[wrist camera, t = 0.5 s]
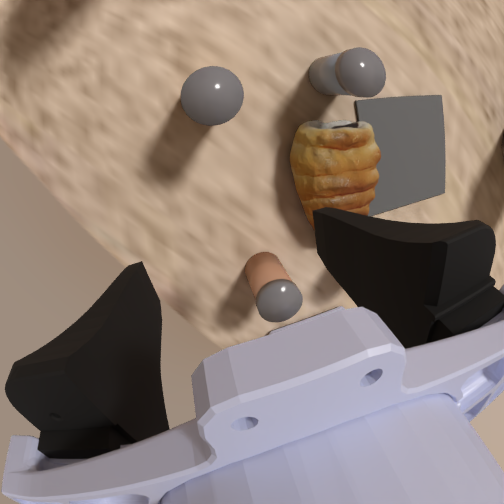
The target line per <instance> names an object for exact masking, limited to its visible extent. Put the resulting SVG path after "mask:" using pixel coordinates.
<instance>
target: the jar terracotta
mask: <svg viewBox="0 0 504 504" xmlns="http://www.w3.org/2000/svg"><path fill="white" fill-rule="evenodd" d="M245 274H246V277H247V279H248V282H249V284H250V287H251V289H252V292H253V295H254V297H255V300H256V306H257V309H258V311H259V314H260V315H261V317H262V318H263V319H265V320H267V321H269V322H282V321H285V320H287V319H289V318H291V317H292V316H294V315H295V314H296V313H297V312H298V311H299V309H300V307H301V305H302V300H303V299H302V294H301V292H300V291H299V289H298V287H297V286H296V284H295V283H294V282H292V280H291V279H290V277H289V275H288V274H287V272H286V270H285V269H284V267H283V265H282V264H281V262H280V261H279V259H278V257H277V256H276V255H274V254H272V253H269V252H261V253H258V254H256V255H254V256H252V257H251V258H250V259H249V260H248V262H247V264H246V266H245Z"/></svg>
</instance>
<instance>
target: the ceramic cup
mask: <svg viewBox="0 0 504 504" xmlns="http://www.w3.org/2000/svg"><path fill="white" fill-rule="evenodd" d="M502 152H503V157H504V136H503V142H502Z"/></svg>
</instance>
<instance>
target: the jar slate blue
mask: <svg viewBox="0 0 504 504" xmlns="http://www.w3.org/2000/svg"><path fill="white" fill-rule="evenodd" d="M309 79H310V82H311V84H312V86H313V87H314V88H315V89H316V90H317V91H318V92H320V93H322V94H325V95H352V96H355V97H373V96H375V95H377V94H378V93H379V92H380V91H381V90H382V89H383V87H384V84H385V80H386V73H385V68H384V65H383V63H382V61H381V60H380V58H379V57H378V56H377V55H376V54H375V53H374V52H372V51H371V50H369V49H366V48H353V49H349V50H346V51H344V52H342V53H338V54H334V55H329V56H325V57H321V58H318V59H316V60H315V61H314V62H313V63H312V64H311V66H310V69H309Z"/></svg>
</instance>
